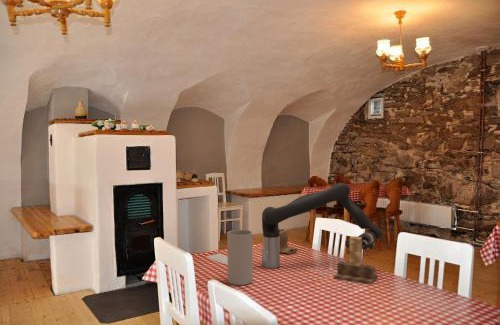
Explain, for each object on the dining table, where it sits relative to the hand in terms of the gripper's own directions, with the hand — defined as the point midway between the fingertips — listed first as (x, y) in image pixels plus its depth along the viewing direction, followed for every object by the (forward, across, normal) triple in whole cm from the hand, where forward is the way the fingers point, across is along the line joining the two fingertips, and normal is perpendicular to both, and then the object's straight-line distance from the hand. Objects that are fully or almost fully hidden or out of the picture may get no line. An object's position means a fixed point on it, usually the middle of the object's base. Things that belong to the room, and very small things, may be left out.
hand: (355, 246), depth 228 cm
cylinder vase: (+33, -49, +16) cm, 61 cm away
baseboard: (+6, -75, +17) cm, 77 cm away
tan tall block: (0, 0, +9) cm, 9 cm away
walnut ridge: (0, 0, +16) cm, 16 cm away
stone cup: (-29, -56, +16) cm, 65 cm away
